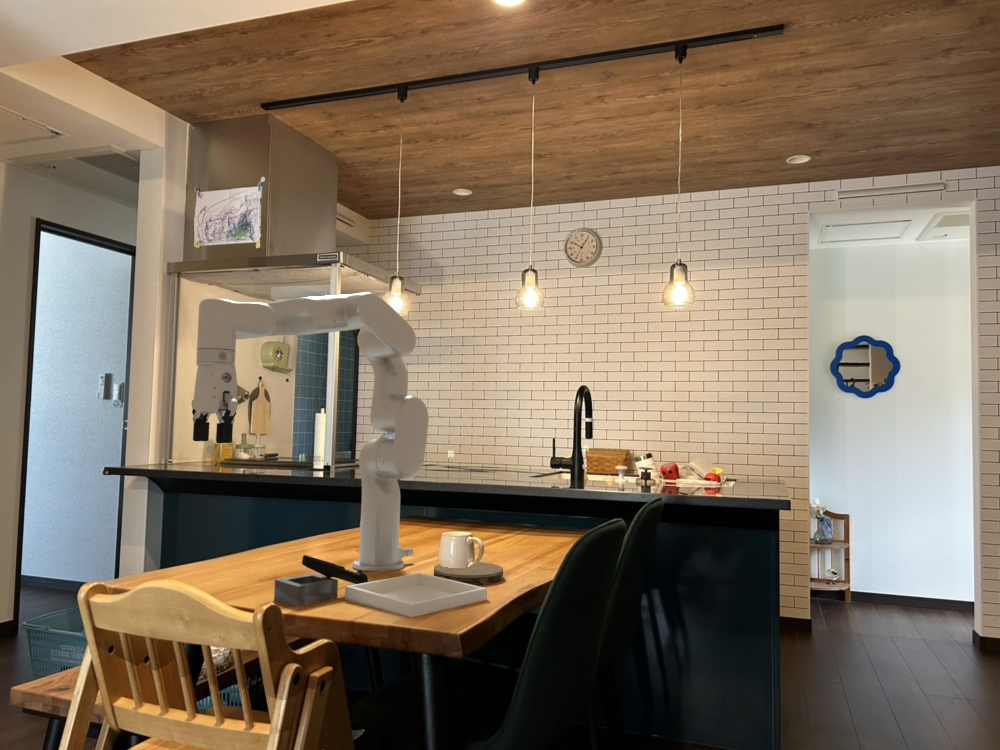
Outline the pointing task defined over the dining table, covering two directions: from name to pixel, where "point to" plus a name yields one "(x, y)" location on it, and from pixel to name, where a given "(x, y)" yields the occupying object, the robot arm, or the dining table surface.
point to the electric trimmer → (334, 570)
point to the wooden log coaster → (472, 573)
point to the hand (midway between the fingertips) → (212, 442)
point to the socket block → (305, 589)
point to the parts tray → (414, 594)
